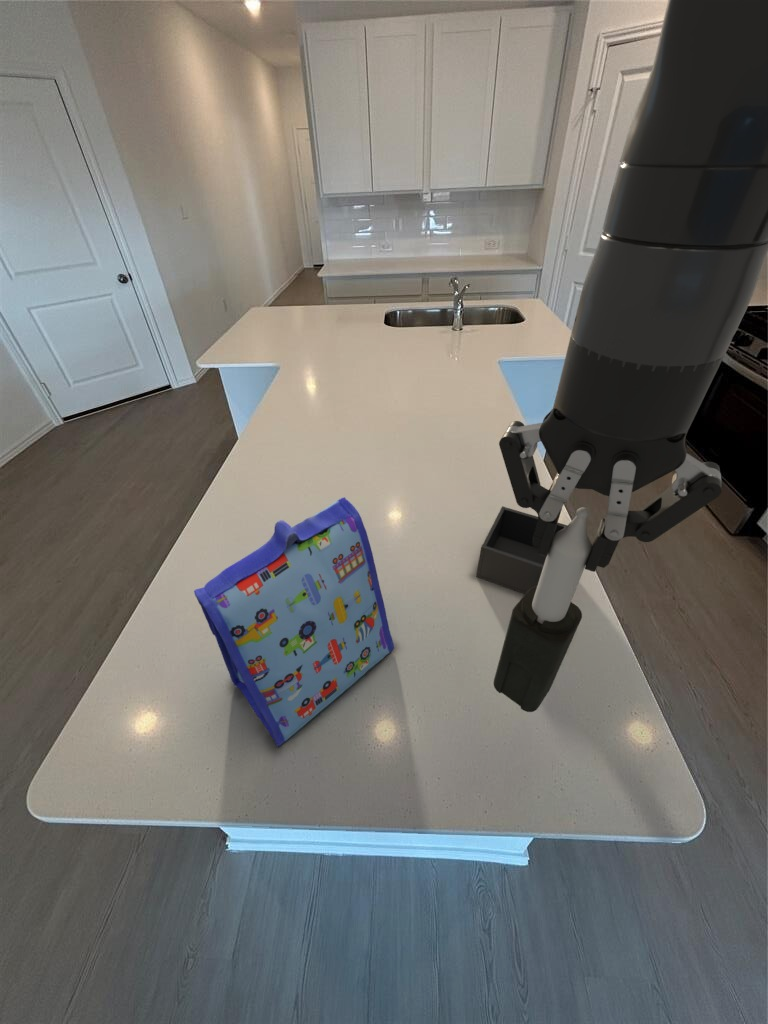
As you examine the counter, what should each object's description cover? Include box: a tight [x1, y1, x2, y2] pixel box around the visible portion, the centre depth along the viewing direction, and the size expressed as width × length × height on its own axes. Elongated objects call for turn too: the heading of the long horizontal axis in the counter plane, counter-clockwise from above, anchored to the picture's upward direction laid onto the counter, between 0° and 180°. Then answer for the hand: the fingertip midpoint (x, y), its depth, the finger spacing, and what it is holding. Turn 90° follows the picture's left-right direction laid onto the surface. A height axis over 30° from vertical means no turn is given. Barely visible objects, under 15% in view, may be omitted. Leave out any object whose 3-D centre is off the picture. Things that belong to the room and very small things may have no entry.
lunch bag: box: [193, 497, 395, 747], centre depth 59 cm, size 22×14×29 cm, turn 133°
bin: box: [475, 505, 569, 595], centre depth 80 cm, size 12×12×8 cm
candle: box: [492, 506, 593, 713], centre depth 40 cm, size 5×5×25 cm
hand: (567, 555), depth 35 cm, fingers closed on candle, 3 cm apart
